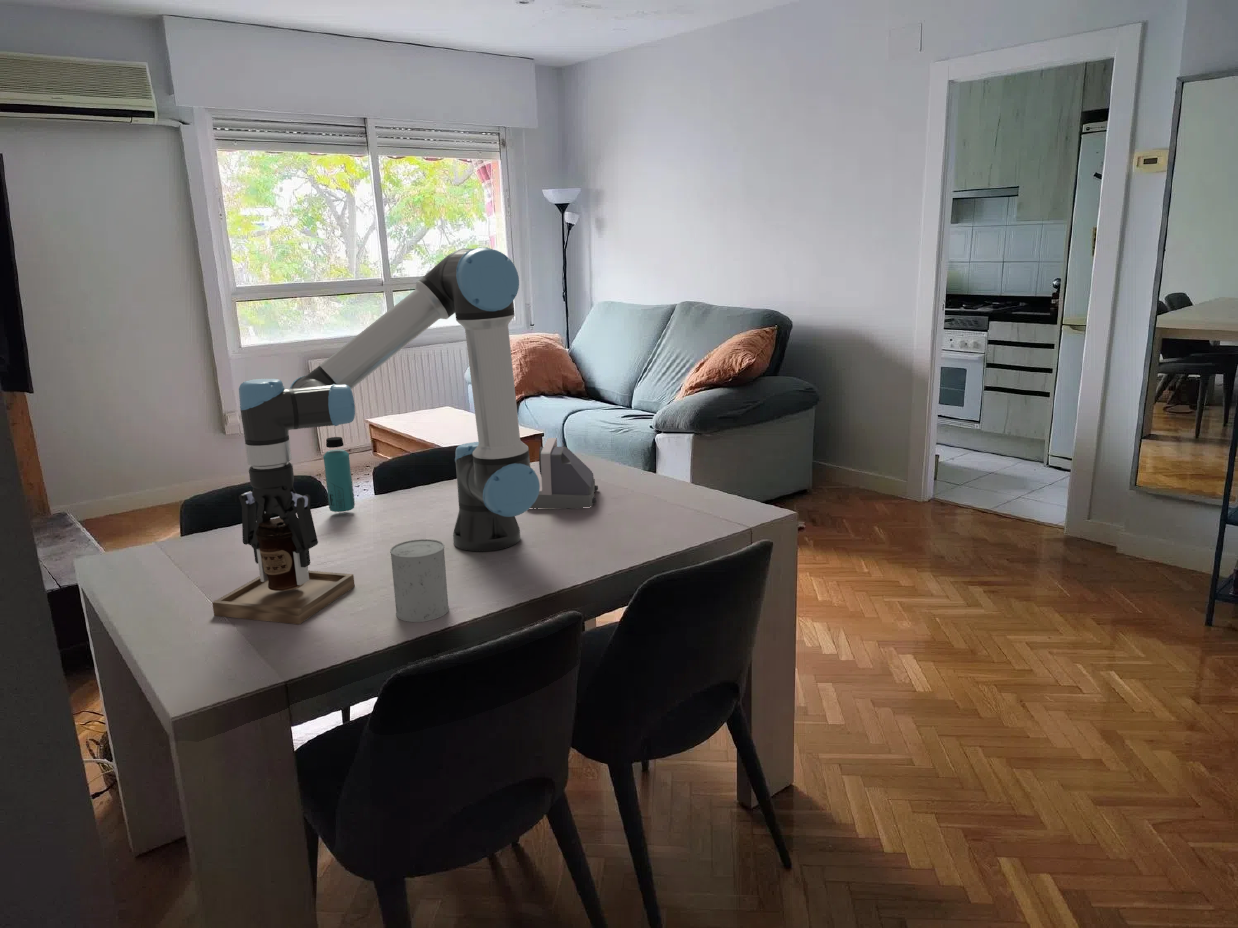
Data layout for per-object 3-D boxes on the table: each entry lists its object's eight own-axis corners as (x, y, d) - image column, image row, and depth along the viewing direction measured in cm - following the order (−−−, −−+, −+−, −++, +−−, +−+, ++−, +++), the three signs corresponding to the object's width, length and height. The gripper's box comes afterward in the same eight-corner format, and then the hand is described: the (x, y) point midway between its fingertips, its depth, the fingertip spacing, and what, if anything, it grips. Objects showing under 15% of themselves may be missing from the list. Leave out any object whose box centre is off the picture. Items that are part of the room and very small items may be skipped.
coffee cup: (293, 596, 155) (284, 529, 152) (252, 593, 157) (243, 527, 154) (318, 578, 164) (311, 515, 160) (280, 576, 165) (271, 513, 162)
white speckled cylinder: (400, 602, 159) (395, 540, 156) (451, 599, 160) (447, 538, 157) (391, 623, 150) (385, 558, 147) (445, 620, 151) (441, 555, 148)
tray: (354, 586, 167) (353, 574, 166) (299, 624, 150) (297, 610, 150) (276, 579, 172) (274, 567, 171) (214, 615, 155) (212, 602, 154)
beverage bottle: (361, 511, 216) (353, 435, 212) (343, 519, 211) (334, 441, 206) (341, 509, 219) (334, 434, 214) (323, 516, 213) (314, 439, 208)
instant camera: (534, 487, 237) (532, 435, 233) (607, 489, 233) (605, 437, 229) (512, 509, 216) (509, 453, 213) (590, 512, 213) (589, 455, 209)
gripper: (330, 461, 155) (343, 577, 161) (237, 457, 160) (252, 569, 166) (305, 471, 148) (320, 592, 154) (209, 466, 153) (226, 584, 159)
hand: (285, 580), depth 160 cm, fingers closed on coffee cup, 7 cm apart
